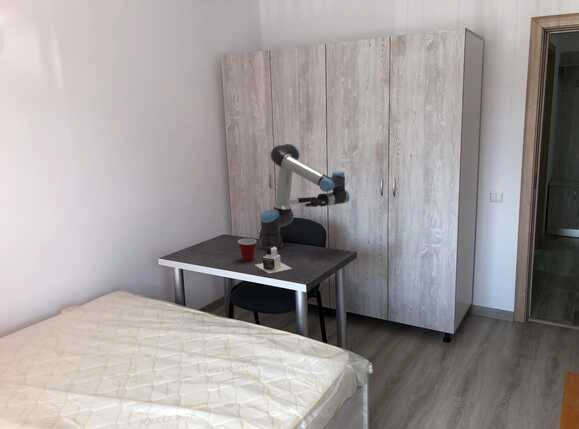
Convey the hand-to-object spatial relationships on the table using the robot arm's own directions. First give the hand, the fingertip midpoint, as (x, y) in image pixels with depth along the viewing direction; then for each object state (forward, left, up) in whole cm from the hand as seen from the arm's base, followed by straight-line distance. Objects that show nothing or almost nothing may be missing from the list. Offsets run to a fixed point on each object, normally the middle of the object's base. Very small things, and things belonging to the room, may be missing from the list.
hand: (294, 204), depth 273 cm
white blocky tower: (+11, -22, -32) cm, 40 cm away
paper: (+8, -20, -32) cm, 38 cm away
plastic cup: (-12, -26, -32) cm, 43 cm away
